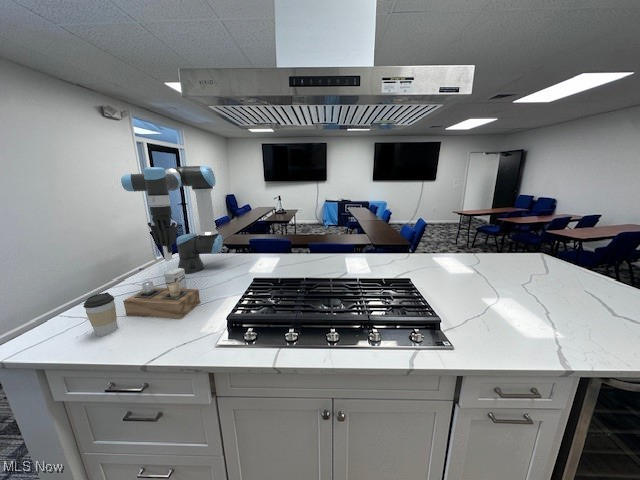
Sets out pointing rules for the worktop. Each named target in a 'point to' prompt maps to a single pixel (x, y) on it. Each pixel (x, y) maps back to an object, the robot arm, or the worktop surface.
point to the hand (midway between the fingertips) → (168, 259)
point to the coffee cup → (101, 313)
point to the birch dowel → (174, 289)
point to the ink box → (176, 277)
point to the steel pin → (148, 288)
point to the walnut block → (162, 303)
